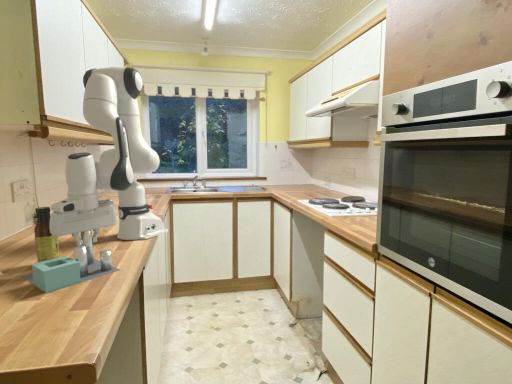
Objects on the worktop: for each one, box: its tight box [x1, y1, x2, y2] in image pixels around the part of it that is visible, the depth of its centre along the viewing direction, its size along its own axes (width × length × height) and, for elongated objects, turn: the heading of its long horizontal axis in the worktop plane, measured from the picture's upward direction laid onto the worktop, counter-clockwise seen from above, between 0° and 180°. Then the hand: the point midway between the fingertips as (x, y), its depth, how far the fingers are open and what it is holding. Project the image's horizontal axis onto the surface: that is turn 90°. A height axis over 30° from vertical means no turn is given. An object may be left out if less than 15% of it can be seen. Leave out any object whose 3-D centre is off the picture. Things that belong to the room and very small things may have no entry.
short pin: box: [99, 249, 113, 271], centre depth 103 cm, size 3×3×6 cm
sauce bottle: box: [33, 206, 60, 263], centre depth 108 cm, size 7×6×20 cm
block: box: [31, 255, 81, 294], centre depth 92 cm, size 9×9×6 cm
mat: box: [21, 258, 121, 294], centre depth 101 cm, size 21×20×1 cm
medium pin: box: [73, 245, 88, 278], centre depth 98 cm, size 3×3×9 cm
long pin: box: [80, 230, 95, 265], centre depth 108 cm, size 3×3×14 cm
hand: (86, 243), depth 108 cm, fingers closed on long pin, 3 cm apart
